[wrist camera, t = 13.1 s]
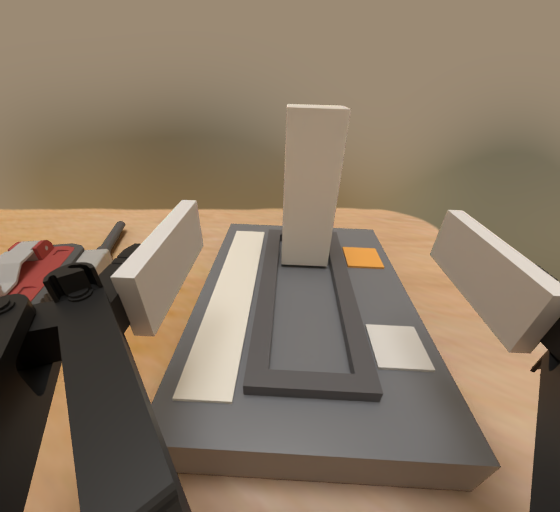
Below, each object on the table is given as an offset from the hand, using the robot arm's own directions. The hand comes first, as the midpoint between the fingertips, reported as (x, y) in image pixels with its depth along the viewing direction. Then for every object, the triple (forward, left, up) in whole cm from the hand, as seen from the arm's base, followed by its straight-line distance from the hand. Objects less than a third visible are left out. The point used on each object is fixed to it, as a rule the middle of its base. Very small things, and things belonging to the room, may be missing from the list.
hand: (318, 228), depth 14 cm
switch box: (0, +3, -10) cm, 10 cm away
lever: (0, +7, -7) cm, 10 cm away
